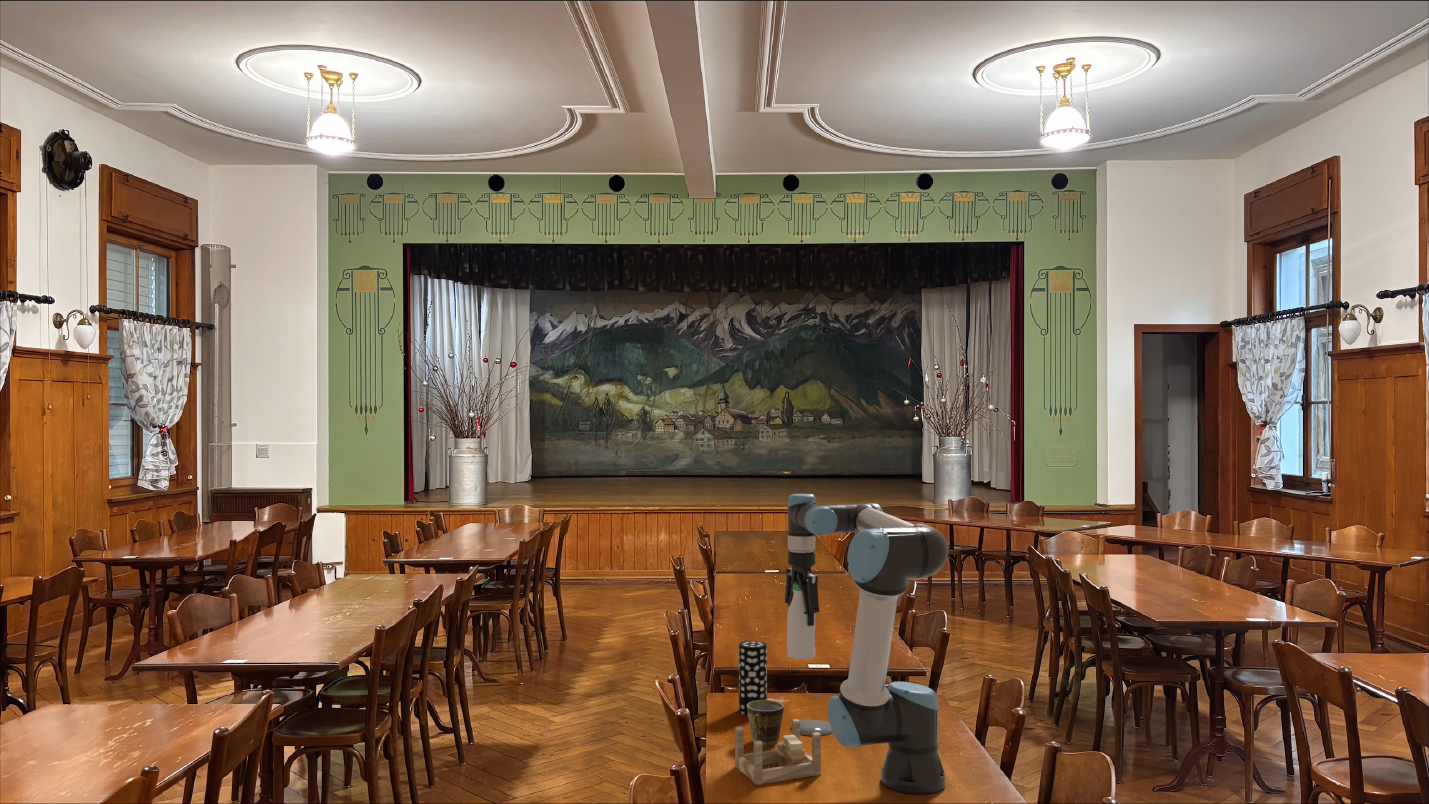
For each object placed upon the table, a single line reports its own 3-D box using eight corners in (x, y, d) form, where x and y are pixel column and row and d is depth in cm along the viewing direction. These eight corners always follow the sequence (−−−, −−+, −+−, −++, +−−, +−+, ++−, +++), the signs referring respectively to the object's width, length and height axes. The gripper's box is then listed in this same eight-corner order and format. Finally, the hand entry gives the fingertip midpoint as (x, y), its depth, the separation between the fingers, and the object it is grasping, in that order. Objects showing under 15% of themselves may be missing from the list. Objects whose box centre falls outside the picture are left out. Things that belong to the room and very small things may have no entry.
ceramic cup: (754, 734, 266) (754, 697, 266) (788, 738, 262) (788, 702, 262) (737, 749, 254) (737, 711, 254) (773, 754, 250) (773, 715, 250)
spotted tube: (754, 705, 292) (753, 639, 292) (772, 711, 286) (772, 644, 286) (733, 710, 287) (733, 643, 287) (751, 717, 280) (751, 648, 281)
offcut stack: (806, 773, 237) (806, 743, 237) (791, 775, 235) (791, 745, 235) (791, 761, 245) (791, 732, 245) (776, 764, 243) (776, 734, 243)
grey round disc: (841, 732, 267) (841, 730, 267) (803, 738, 262) (803, 735, 262) (821, 719, 278) (821, 717, 278) (784, 725, 273) (784, 722, 273)
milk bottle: (814, 660, 258) (814, 586, 258) (785, 659, 259) (785, 585, 259) (816, 653, 266) (816, 581, 266) (788, 652, 267) (788, 580, 267)
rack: (820, 774, 236) (820, 733, 236) (756, 785, 229) (756, 743, 229) (797, 757, 248) (797, 718, 248) (735, 766, 241) (735, 726, 241)
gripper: (832, 555, 255) (832, 640, 255) (795, 544, 274) (795, 624, 274) (808, 556, 252) (807, 643, 252) (772, 546, 271) (772, 627, 271)
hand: (801, 633), depth 263 cm, fingers closed on milk bottle, 8 cm apart
